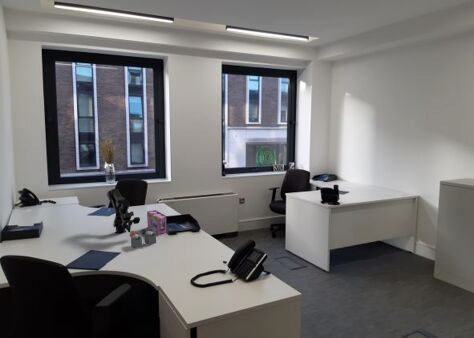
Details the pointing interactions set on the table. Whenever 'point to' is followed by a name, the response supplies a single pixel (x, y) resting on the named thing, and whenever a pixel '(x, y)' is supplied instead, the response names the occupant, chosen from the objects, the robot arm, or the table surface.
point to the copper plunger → (134, 234)
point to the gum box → (156, 221)
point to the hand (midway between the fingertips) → (129, 231)
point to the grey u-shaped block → (150, 238)
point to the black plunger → (146, 231)
